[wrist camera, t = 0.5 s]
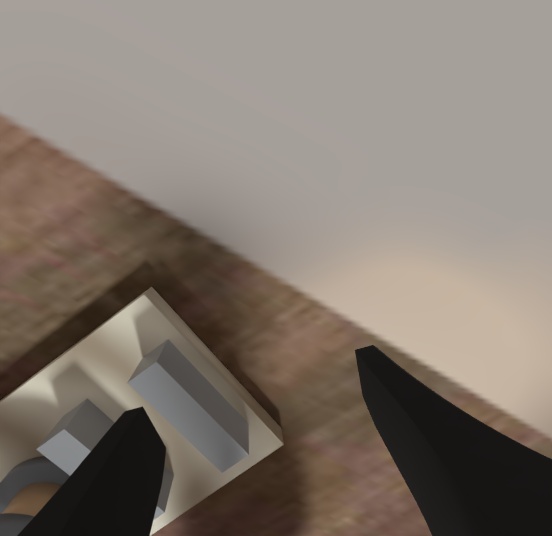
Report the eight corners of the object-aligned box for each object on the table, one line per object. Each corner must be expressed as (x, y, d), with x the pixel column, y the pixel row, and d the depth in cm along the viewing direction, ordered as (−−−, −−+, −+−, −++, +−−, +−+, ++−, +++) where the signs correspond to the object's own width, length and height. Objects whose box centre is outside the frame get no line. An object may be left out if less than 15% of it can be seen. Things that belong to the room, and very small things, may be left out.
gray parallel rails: (151, 490, 21) (139, 530, 18) (62, 416, 19) (36, 449, 16) (248, 423, 20) (249, 454, 18) (168, 339, 18) (156, 361, 16)
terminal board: (19, 607, 24) (5, 634, 23) (-145, 509, 21) (-175, 533, 19) (281, 428, 22) (283, 444, 21) (151, 286, 19) (143, 294, 17)
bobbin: (54, 545, 21) (7, 634, 17) (-22, 493, 20) (-96, 576, 15) (125, 496, 21) (94, 575, 16) (53, 438, 19) (-2, 509, 15)
